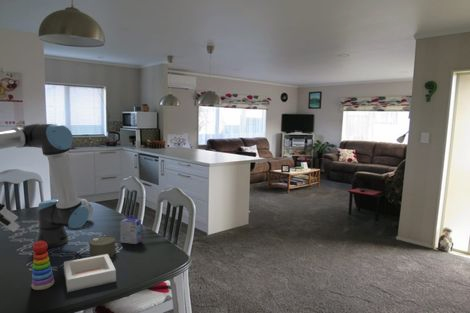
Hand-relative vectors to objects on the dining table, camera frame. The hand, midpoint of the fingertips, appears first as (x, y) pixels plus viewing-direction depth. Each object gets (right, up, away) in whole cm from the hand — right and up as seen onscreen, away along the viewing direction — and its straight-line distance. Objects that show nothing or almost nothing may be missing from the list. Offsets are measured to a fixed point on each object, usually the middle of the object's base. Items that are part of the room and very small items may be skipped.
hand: (16, 224), depth 127 cm
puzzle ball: (-14, -16, +84) cm, 86 cm away
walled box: (+23, -25, +12) cm, 36 cm away
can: (+19, -22, +36) cm, 47 cm away
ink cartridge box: (+28, -21, +52) cm, 63 cm away
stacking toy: (+8, -26, +4) cm, 27 cm away
